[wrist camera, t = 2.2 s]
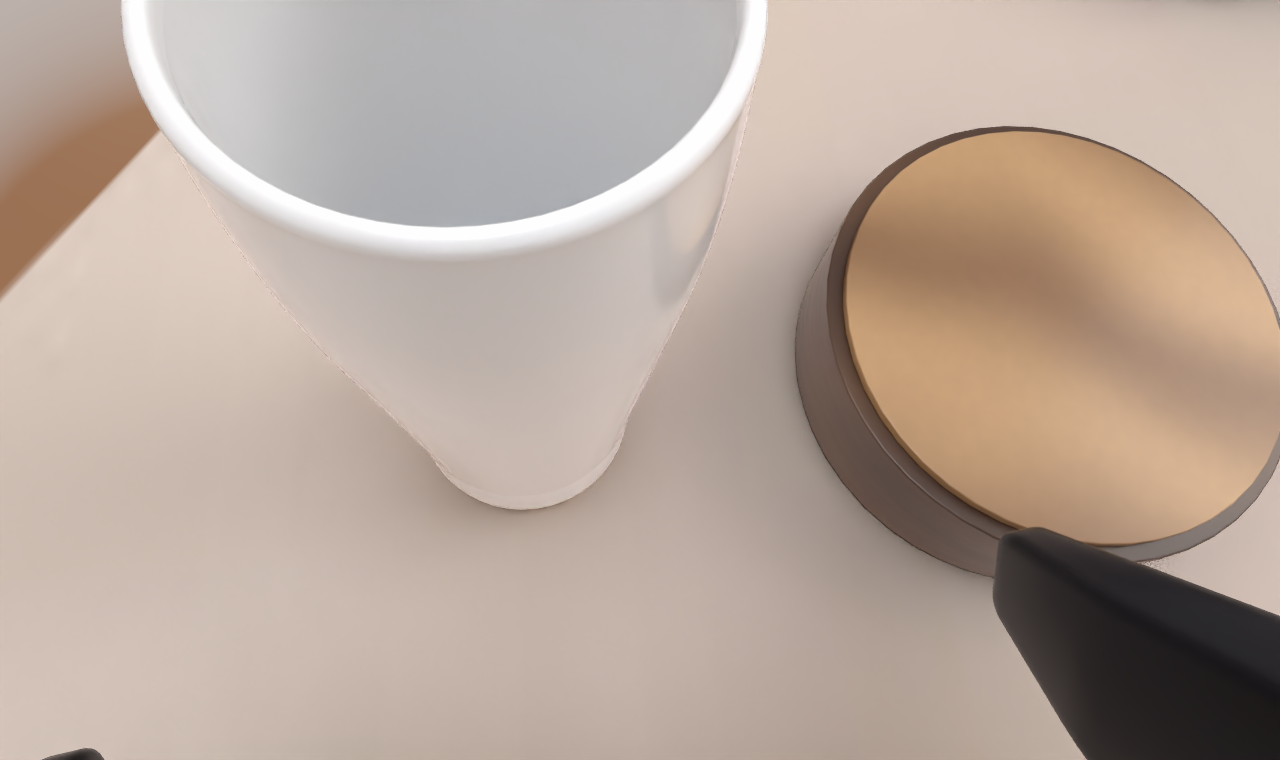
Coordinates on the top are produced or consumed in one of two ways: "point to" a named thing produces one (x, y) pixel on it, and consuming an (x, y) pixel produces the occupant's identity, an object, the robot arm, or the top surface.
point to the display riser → (1040, 351)
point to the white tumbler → (467, 198)
